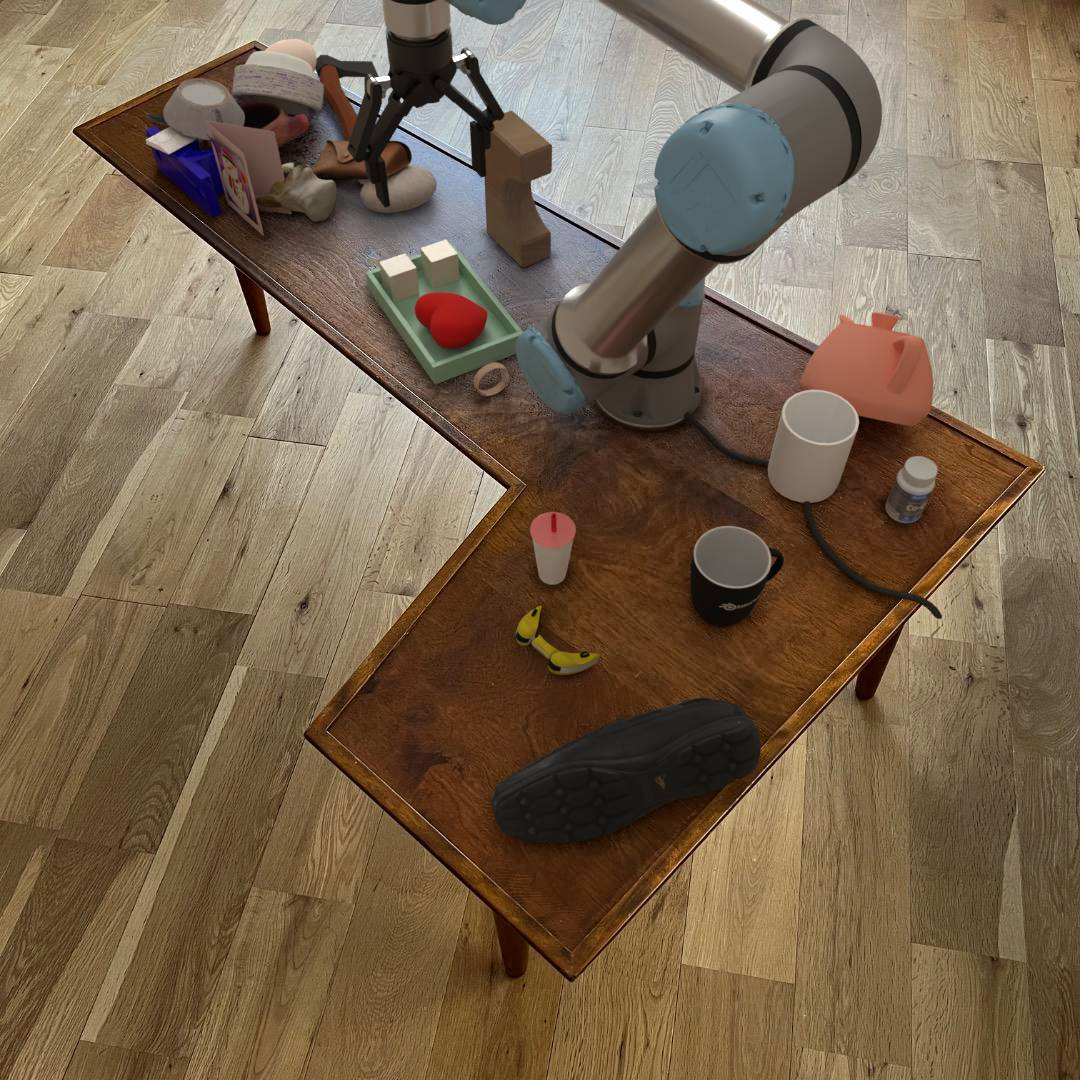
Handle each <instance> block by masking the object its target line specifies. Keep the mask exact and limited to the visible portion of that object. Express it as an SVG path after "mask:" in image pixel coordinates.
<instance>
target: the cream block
mask: <svg viewBox="0 0 1080 1080" xmlns="http://www.w3.org/2000/svg"><path fill="white" fill-rule="evenodd" d="M450 243H451V242H449V241H448V240H447V239H442V240H440V241H437V242H434V243H432V244H431V243H430V244H427V245H424V246H422V247H420V248H419V250H420V251H419V252H420V253H421V261H422V270H423V275H424V276H425V278H426V279H427V280H428V282H429V283H430V284H431V286H432V287H433V288H434V289H435V288H438V287H441V286H444V285H447V284H450V283H452V282H455V281H458V280H460V278H459V264H458V253H457V252H456V251H455V250H454V248H453V247H452V246H451V245H450Z"/></svg>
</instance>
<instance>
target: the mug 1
mask: <svg viewBox="0 0 1080 1080" xmlns="http://www.w3.org/2000/svg"><path fill="white" fill-rule="evenodd" d="M691 555H692V556H691V562H690V573H689V574H690V575H689V588H690V589H689V591H690V598H691V603H692V607H693V609H694V611H695V612H696V614H697V616H699V618H700V619H701V620H702V621H704V622H705V623H707V624H709V625H711V626H714V627H719V628H728V627H732V626H735V625H737V624H740V623H741V622H743V621H744V620H745V619H746V618H747V617H748V616H749V615H750V613H751V612H752V611H753V610H754V608H755V606H756V604H757V603H758V601H759V600H760V597H761V596H762V594H763V591H764V588H765V586H766V584H767V583H769V581H771V580H772V579H773V578H774V577H776V575H778V573H779V572H780V571H781V570H782V568H783V566H784V563H785V558H784V555H783V553H782V552H781V551H780V550H779V549H777V548H773V547H768V545H767V544H766V542H765V541H764V540H763V539H762V538H761V537H760V536H759V535H757V534H756V533H754V532H753V531H751V530H748V529H746V528H743V527H740V526H733V525H723V526H717V527H714V528H711V529H709V530H707V531H706V532H704V533H702V535H701V536H700V537H699V538H698V539H697V541H696V542H695V544H694V547H693V550H692V554H691ZM772 558H775V561H774V562H773V564H772Z"/></svg>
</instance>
